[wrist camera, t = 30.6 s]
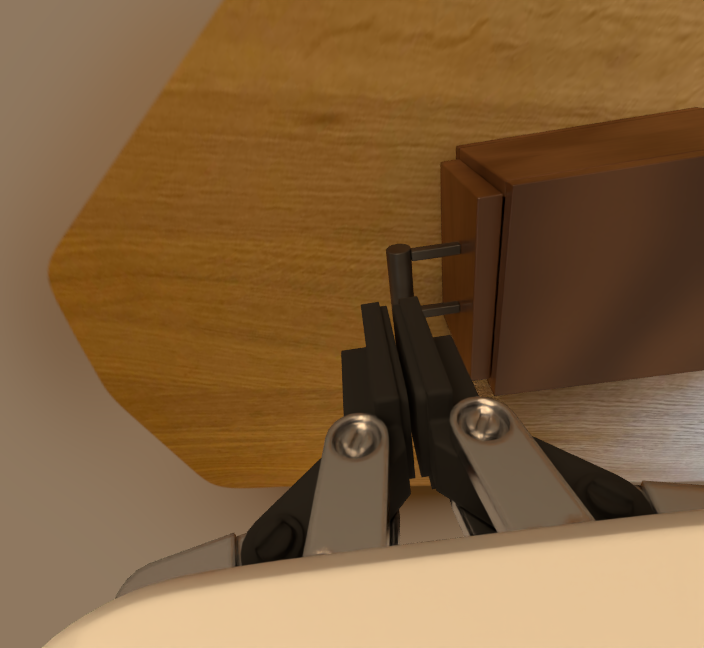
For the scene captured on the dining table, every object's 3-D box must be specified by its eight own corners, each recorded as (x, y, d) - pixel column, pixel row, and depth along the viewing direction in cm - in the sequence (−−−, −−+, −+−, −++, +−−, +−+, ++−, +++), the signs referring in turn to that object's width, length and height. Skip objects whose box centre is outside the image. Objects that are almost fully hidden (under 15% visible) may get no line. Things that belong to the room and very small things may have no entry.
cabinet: (454, 312, 31) (494, 396, 23) (455, 145, 24) (512, 185, 16) (639, 286, 30) (746, 365, 23) (696, 106, 23) (879, 128, 15)
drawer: (389, 321, 31) (403, 390, 24) (373, 172, 24) (386, 211, 18) (618, 289, 30) (696, 352, 23) (664, 125, 23) (790, 149, 17)
